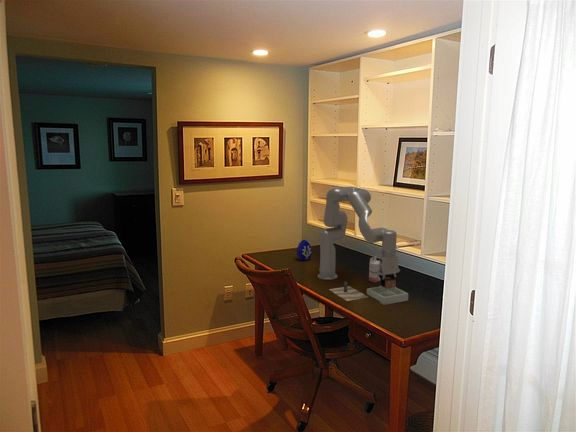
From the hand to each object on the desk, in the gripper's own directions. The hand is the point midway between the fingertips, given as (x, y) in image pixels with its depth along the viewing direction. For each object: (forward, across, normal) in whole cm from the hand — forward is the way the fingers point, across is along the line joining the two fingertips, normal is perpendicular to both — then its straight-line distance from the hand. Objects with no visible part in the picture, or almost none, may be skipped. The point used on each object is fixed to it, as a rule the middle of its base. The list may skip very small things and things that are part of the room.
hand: (387, 284), depth 248 cm
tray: (+8, 0, 0) cm, 8 cm away
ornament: (+8, -8, +88) cm, 89 cm away
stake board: (+8, -17, +13) cm, 23 cm away
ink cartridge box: (+8, +12, +28) cm, 32 cm away
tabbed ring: (+1, 0, +1) cm, 2 cm away
